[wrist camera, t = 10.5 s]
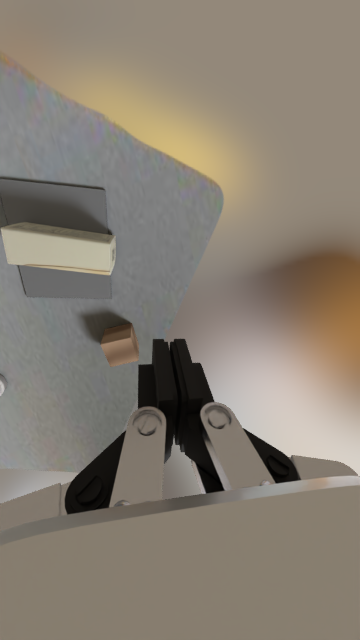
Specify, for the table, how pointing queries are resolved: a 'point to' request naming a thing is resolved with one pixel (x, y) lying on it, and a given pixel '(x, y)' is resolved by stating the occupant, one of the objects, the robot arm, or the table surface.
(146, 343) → the table surface
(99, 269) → the skincare box
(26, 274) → the mat
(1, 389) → the travel mug
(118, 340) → the walnut block
